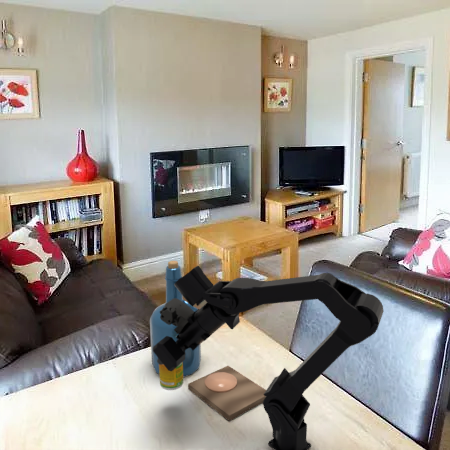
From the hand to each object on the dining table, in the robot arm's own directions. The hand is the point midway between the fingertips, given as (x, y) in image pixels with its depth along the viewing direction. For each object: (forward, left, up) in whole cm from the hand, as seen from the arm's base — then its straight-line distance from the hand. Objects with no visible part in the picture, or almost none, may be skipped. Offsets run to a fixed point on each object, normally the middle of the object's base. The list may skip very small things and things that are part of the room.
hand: (165, 356), depth 105 cm
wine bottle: (+13, -12, -13) cm, 22 cm away
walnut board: (-5, -14, -13) cm, 20 cm away
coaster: (-2, -14, -12) cm, 19 cm away
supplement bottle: (-1, -1, -7) cm, 7 cm away
